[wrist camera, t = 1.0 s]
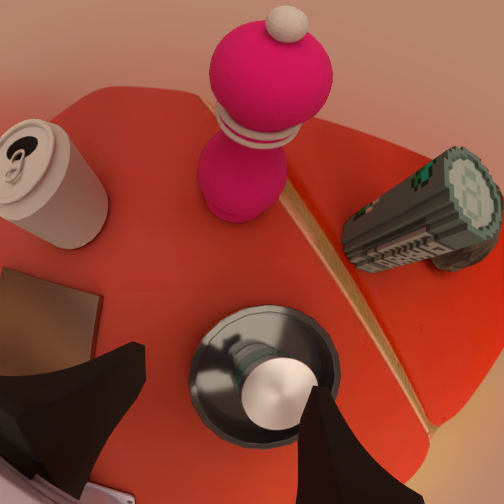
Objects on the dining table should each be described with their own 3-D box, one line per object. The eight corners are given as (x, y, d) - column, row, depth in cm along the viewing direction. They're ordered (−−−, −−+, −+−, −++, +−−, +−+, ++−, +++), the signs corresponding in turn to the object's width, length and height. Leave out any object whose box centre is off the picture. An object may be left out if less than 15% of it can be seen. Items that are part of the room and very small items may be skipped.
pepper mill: (202, 155, 28) (212, -33, 9) (274, 162, 29) (357, -5, 10) (194, 225, 27) (182, 49, 8) (273, 231, 28) (394, 88, 9)
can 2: (394, 224, 30) (496, 171, 16) (387, 278, 29) (502, 249, 14) (347, 205, 30) (441, 132, 15) (337, 262, 28) (445, 217, 14)
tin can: (285, 404, 25) (310, 432, 18) (226, 398, 24) (234, 427, 17) (295, 349, 26) (325, 360, 19) (236, 340, 25) (248, 351, 18)
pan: (311, 436, 25) (324, 450, 21) (182, 424, 23) (179, 439, 20) (334, 316, 27) (351, 316, 24) (203, 294, 26) (203, 291, 22)
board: (89, 480, 20) (86, 485, 19) (0, 438, 19) (-5, 441, 18) (104, 296, 24) (99, 295, 23) (8, 268, 23) (2, 266, 22)
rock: (410, 264, 29) (484, 233, 19) (408, 179, 33) (464, 138, 23) (461, 287, 31) (525, 266, 21) (456, 210, 35) (509, 180, 25)
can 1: (113, 173, 27) (71, 99, 15) (109, 248, 25) (50, 204, 14) (50, 182, 25) (-9, 122, 14) (43, 253, 24) (-33, 218, 12)
